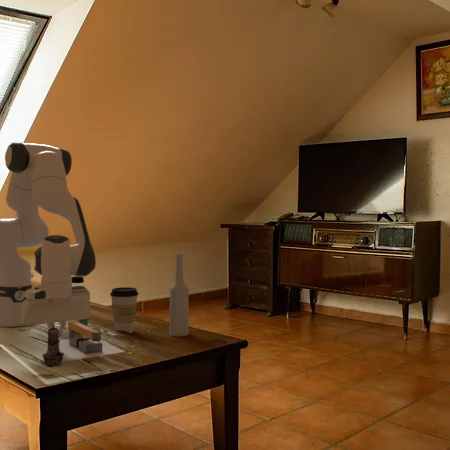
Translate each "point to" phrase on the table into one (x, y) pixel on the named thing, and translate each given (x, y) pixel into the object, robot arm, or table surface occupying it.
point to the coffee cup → (124, 308)
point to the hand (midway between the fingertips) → (56, 336)
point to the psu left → (77, 340)
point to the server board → (78, 354)
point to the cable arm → (84, 330)
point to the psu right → (90, 346)
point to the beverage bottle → (78, 280)
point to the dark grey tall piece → (53, 348)
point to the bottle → (179, 302)
